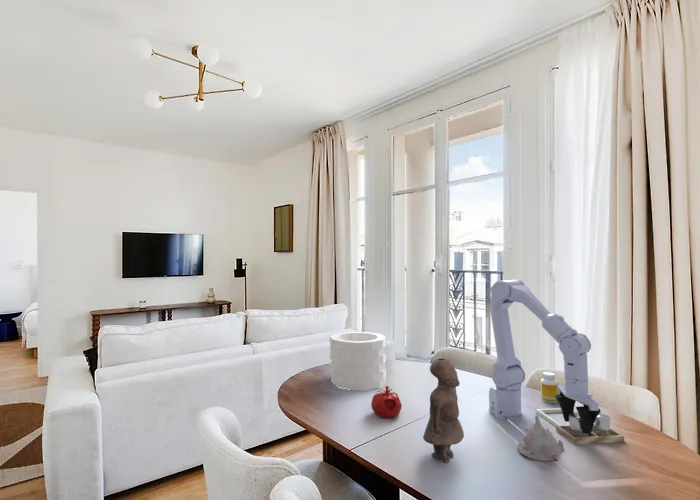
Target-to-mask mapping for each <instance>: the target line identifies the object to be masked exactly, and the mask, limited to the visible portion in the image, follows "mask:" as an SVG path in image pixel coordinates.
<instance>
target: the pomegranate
mask: <svg viewBox="0 0 700 500" xmlns="http://www.w3.org/2000/svg"><path fill="white" fill-rule="evenodd" d="M384 386H385V387H384V388H385V390H384V389H383V388H380V389H379V390H377V391H375V392H374V393H376V394H374V395H373V396H372V399H371V405H370V406H371V409H372V412H374V414H375V415H376V416H378V417H379V418H383V419H393V418H395V417H397V416H399V414H400V412H401V410H402V406H403V405H402V402H401V400H400V398H399V396H398V395H399V393H396V392H393V388H390V389H389V385H384ZM391 391H392V392H391Z"/></svg>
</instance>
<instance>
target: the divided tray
mask: <svg viewBox="0 0 700 500" xmlns="http://www.w3.org/2000/svg"><path fill="white" fill-rule="evenodd" d="M555 431H556V432H557V433H558V434H560V435H561V436H562V437H564V438H565V439H566V440H568V441H569V442H571V443H572V444H573V445H587V444H589V445H590V444H606V443H607V444H609V443H611V444H612V443H624V442H625V435H623V433H622V434H621V433H620V432H618V431H616V430H614V429H613V428H611V427H610V434H611V436H598V435H596V434H595V433H593V432H591V433H590V434H588V437H574V436H572V435H571V434H570V433H569V424H561V425H559V426H555Z"/></svg>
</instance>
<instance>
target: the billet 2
mask: <svg viewBox="0 0 700 500" xmlns="http://www.w3.org/2000/svg"><path fill="white" fill-rule="evenodd" d="M610 428H611V416H609V415H608V414H605V413H601V412H600V413H599V415H598V416H597V418H596V420H595V422H594V425H593V428H592V432H593V433H595V434H596V435H598V436H611V434H610Z"/></svg>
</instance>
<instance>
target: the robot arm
mask: <svg viewBox="0 0 700 500" xmlns="http://www.w3.org/2000/svg"><path fill="white" fill-rule="evenodd" d="M490 295H491V296H490V299H489V300H490V301H489V309H490V311H489V312H490V317H491V324H492V330H493V335H494V337H493V338H494V343H495V349H496V350H495V351H496V357H497V358H496V359H495V360H494V362H493V363H492V372H491V379H492V381H493V383H494V385H495V386H494V387H490V388H489V391H488V402H489V403H488V404H489V405H488V406H489V407H488V411H489V412H491V414H492V415H493V416H495V417H496V418H497V419H499V420H505V419H506V420H508V419H509V418H508V417H518V416H520V415H522V390H521V389H522V383H524V382H525V380H526V373H525V371H524V368H523V367H522V363H521V361H520V359H519V358H518V357H517V356H516V353H515V347H514V341H513V334H512V329H511V323H510V316H509V315H510V314H509V308H510V306H512V305H513V303H514V302H515V303H519V304H520V303H521V304H522V305H523V306H524V307H525V308H527V309H528V311H530V312H531V313H532V314H534V316H535V317H537V318H538V319H539V320H540V321H541V327H542V328H543V330H545V331H546V332H547V333H548V334H549V335H550V337H551V338H552V339H554V341H556V342H557V344H558V349H559V350H560V352H561V354H562V356H563V371H564V372H563V373H564V374H563V375H564V377H563V378H564V380H563V381H564V385H562V384H561V385H560V384H559V385H557V392H558V395H555V398H556V399H557V401H558V402H557V403H558V404H559V406H560V407H559V408H561V410H562V413H561V414H562V417H563V420H564V422H565V423H569V414H573V413H574V412H575V411H574V410H575V409H576V412H578V413H579V416H580V421H581V429H582V432H583V433H584V434H590V433H591V432H592V428H593V425H594V422H595V420H596V418H597V416H598V415H599V413H601V409H600V408H599V403H598V402H597V401H595V400H594V399H593V397H592V396H593V395H592V393H590V392H589V376H588V375H589V369H588V353H589V352H590V351H591V348H592V343H591V341H590V339H589V338H588V337H587V335H586V334H583V333H579V332H578V331H577V330H576V329H575V328H573V327H572V326H570V325H569V324H568V323H567V322H566V321H565V317H564V316H562V315H559V314H557V313H551V312H550V311H549V310H548V308H547V307H546V306H544V304H543V303H542V302H541V301H540V300H539V299H538V298H537V297H536V296H535V294H534V293H532V291H531V289H530V287H529V286H528V285H527V284H525V283H524V282H523V280H521V279H516V278H515V279H510V280H509V279H507V280H501V279H500V280H497V281H495V282H494V283H493V284H492V285H491V287H490ZM576 402H577V403H579V404H581V405H582V406H575V405H576Z"/></svg>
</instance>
